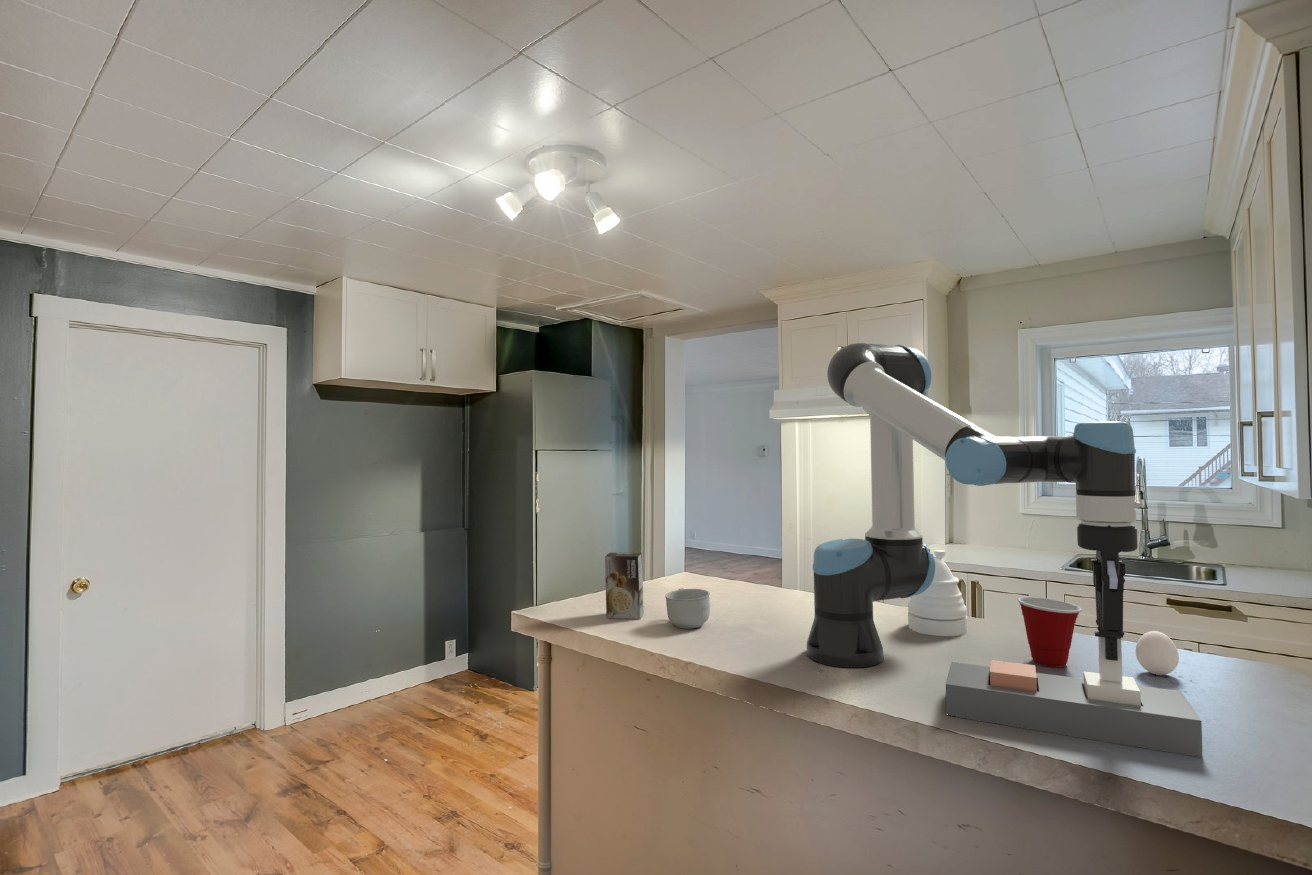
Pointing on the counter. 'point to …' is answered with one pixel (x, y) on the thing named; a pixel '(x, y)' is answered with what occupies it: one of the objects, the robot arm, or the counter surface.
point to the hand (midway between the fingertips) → (1110, 679)
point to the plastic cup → (1049, 629)
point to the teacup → (688, 607)
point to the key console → (1076, 711)
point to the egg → (1157, 653)
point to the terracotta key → (1013, 675)
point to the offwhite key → (1111, 689)
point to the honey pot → (939, 604)
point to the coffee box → (624, 585)
